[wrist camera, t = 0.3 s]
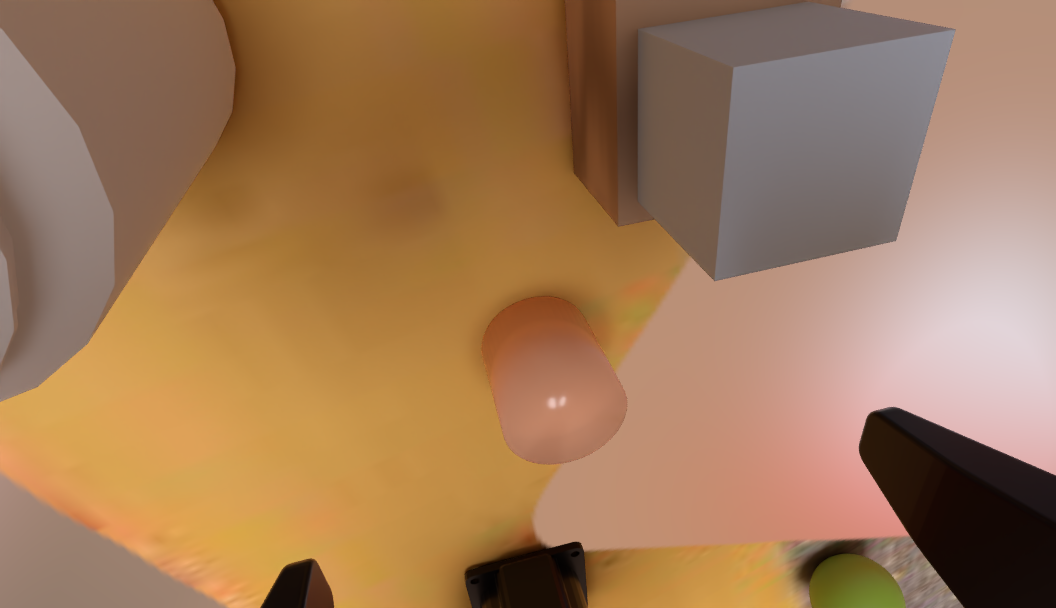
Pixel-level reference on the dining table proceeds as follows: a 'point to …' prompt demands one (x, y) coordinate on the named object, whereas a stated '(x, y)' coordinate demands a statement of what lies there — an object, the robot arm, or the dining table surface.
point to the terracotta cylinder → (551, 381)
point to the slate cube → (783, 131)
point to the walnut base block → (622, 87)
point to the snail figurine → (853, 584)
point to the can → (95, 157)
